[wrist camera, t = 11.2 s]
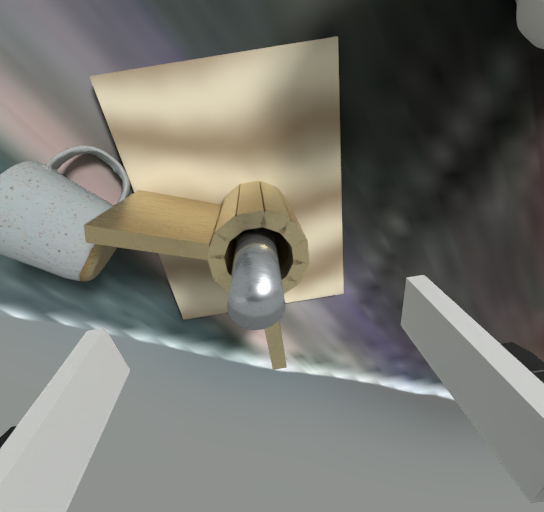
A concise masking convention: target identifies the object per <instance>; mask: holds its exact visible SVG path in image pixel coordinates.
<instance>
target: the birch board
mask: <svg viewBox="0 0 544 512" xmlns="http://www.w3.org/2000/svg"><path fill="white" fill-rule="evenodd" d="M89 77H90V79H91V82H92V84H93V87H94V90H95V92H96V95H97V97H98V100H99V103H100V105H101V108H102V110H103V113H104V115H105V118H106V121H107V123H108V126H109V128H110V131H111V134H112V136H113V139H114V141H115V144H116V146H117V149H118V152H119V154H120V157H121V159H122V162H123V165H124V167H125V170H126V172H127V175H128V177H129V180H130V183H131V185H132V188H133V190H134V192H136V191H138V190H142V191H148V192H154V193H159V194H165V195H171V196H176V197H182V198H187V199H193V200H199V201H204V202H210V203H216V204H221V205H223V202H224V199H225V197H226V195H227V194H228V193H230V192H231V191H232V190H233V189H234V188H235V187H237V186H238V185H239V184H240V185H241V183H247V182H253V181H259V183H260V181H263V182H265V183H268V184H270V185H273V186H275V187H277V188H279V190H280V191H281V192H282V193H283V195H284V196H285V197H286V199H287V200H288V201H289V203H290V205H291V207H292V209H293V211H294V213H295V215H296V217H297V219H298V221H299V224H300V226H301V228H302V230H303V232H304V234H305V236H306V238H307V240H308V251H309V262H310V263H309V265H308V267H307V269H306V271H305V273H304V275H303V277H302V279H301V281H300V283H298V285H297V286H295V287H294V288H292V289H291V290H290V291H288V292H287V293H285V294H284V299H285V303H289V302H295V301H301V300H307V299H313V298H319V297H326V296H332V295H338V294H344V292H343V244H342V197H341V150H340V102H339V55H338V36H336V37H330V38H324V39H318V40H312V41H305V42H299V43H293V44H287V45H281V46H275V47H268V48H262V49H256V50H250V51H244V52H237V53H231V54H225V55H219V56H213V57H206V58H200V59H194V60H188V61H182V62H175V63H169V64H163V65H157V66H151V67H144V68H138V69H132V70H126V71H120V72H114V73H107V74H101V75H95V76H89ZM158 255H159V257H160V260H161V263H162V265H163V268H164V270H165V273H166V276H167V278H168V281H169V283H170V286H171V288H172V291H173V294H174V296H175V299H176V301H177V304H178V307H179V309H180V312H181V314H182V317H183V319H184V320H185V319H191V318H197V317H203V316H209V315H216V314H222V313H228V312H227V301H228V294H229V293H228V292H227V291H226V290H225V289H224V288H222V287H221V286H220V285H219V284H218V283H217V282H216V281H215V280H214V278H213V277H212V273H211V270H210V266H209V263H208V260H203V259H196V258H189V257H182V256H175V255H168V254H161V253H158Z"/></svg>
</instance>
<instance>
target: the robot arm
mask: <svg viewBox="0 0 544 512" xmlns="http://www.w3.org/2000/svg"><path fill="white" fill-rule="evenodd" d="M401 326H402V328H403V329H404V331H405V332H406V333H407V335H408V336H409V337H410V339H411V340H412V342H413V343H414V344H415V346H416V347H417V348H418V350H419V351H420V352H421V354H422V355H423V357H424V358H425V359H426V361H427V362H428V363H429V365H430V366H431V368H432V369H433V370H434V372H435V373H436V374H437V376H438V377H439V379H440V380H441V381H442V383H443V384H444V385H445V387H446V388H447V390H448V391H449V392H450V394H451V395H452V396H453V398H454V399H455V401H456V402H457V403H458V405H459V406H460V407H461V409H462V410H463V412H464V413H465V414H466V416H467V417H468V418H469V420H470V421H471V422H472V424H473V425H474V427H475V428H476V429H477V431H478V432H479V433H480V435H481V436H482V438H483V439H484V440H485V442H486V443H487V444H488V446H489V447H490V448H491V450H492V451H493V453H494V454H495V455H496V457H497V458H498V459H499V461H500V462H501V464H502V465H503V466H504V468H505V469H506V471H507V472H508V473H509V475H510V476H511V477H512V479H513V480H514V481H515V483H516V484H517V486H518V487H519V488H520V490H521V491H522V492H523V494H524V495H525V497H526V498H527V499H528V501H529V502H530V503H536V502H542V501H544V362H543V361H541V360H540V359H539V358H538V357H537V356H535V355H534V354H533V353H531V352H529V351H528V350H526V349H524V348H522V347H520V346H518V345H517V344H515V343H513V342H510V343H504V344H500V343H499V342H497V341H496V340H495V339H494V338H493V337H492V336H491V335H490V334H489V333H488V332H486V331H485V330H484V329H483V328H482V327H481V326H480V325H479V324H478V323H476V322H475V321H474V320H473V319H472V318H471V317H470V316H469V315H468V314H467V313H465V312H464V311H463V310H462V309H461V308H460V307H459V306H458V305H457V304H456V303H454V302H453V301H452V300H451V299H450V298H449V297H448V296H447V295H446V294H444V293H443V292H442V291H441V290H440V289H439V288H438V287H437V286H436V285H435V284H433V283H432V282H431V281H430V280H429V279H428V278H427V277H426V276H425V275H421V276H415V277H409V278H406V286H405V295H404V303H403V311H402V320H401ZM129 373H130V369H129V368H128V366H127V364H126V362H125V361H124V359H123V357H122V356H121V354H120V352H119V351H118V349H117V347H116V346H115V344H114V342H113V341H112V339H111V337H110V336H109V334H108V332H107V331H106V329H105V328H102V329H96V330H90V331H87V332H86V333H85V335H84V336H83V337H82V339H81V340H80V341H79V343H78V344H77V345H76V347H75V348H74V349H73V351H72V352H71V354H70V355H69V356H68V358H67V359H66V361H65V362H64V363H63V364H62V366H61V367H60V368H59V370H58V371H57V373H56V374H55V375H54V377H53V378H52V379H51V381H50V382H49V384H48V385H47V386H46V387H45V389H44V390H43V391H42V393H41V394H40V396H39V397H38V398H37V400H36V401H35V402H34V404H33V405H32V406H31V408H30V409H29V411H28V412H27V413H26V414H25V416H24V417H23V419H22V420H21V421H20V423H19V424H18V425H17V426H15V427H11V428H10V429H9V430H8V431H7V432H6V433H5V434H4V435H2V436H1V437H0V512H66V511H67V508H68V506H69V504H70V502H71V500H72V497H73V495H74V493H75V491H76V489H77V486H78V484H79V482H80V480H81V478H82V476H83V473H84V471H85V469H86V467H87V465H88V462H89V460H90V458H91V456H92V454H93V452H94V449H95V446H96V445H97V443H98V440H99V438H100V436H101V434H102V432H103V430H104V427H105V425H106V423H107V421H108V419H109V416H110V414H111V412H112V410H113V408H114V405H115V403H116V401H117V399H118V397H119V394H120V392H121V390H122V388H123V386H124V383H125V381H126V379H127V377H128V375H129Z"/></svg>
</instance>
